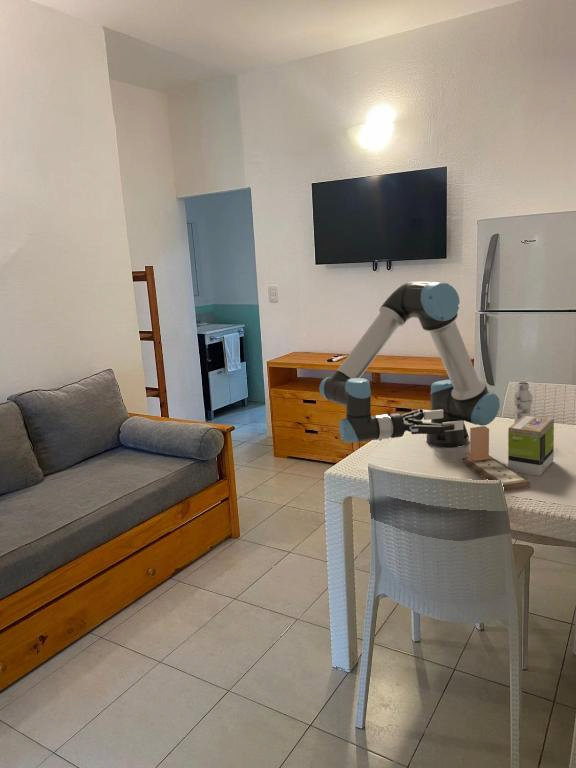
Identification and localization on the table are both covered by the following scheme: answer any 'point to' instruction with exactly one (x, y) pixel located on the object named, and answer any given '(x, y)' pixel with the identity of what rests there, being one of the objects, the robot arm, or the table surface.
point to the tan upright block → (479, 443)
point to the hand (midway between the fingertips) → (452, 419)
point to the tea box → (531, 445)
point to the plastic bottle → (522, 401)
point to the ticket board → (497, 473)
